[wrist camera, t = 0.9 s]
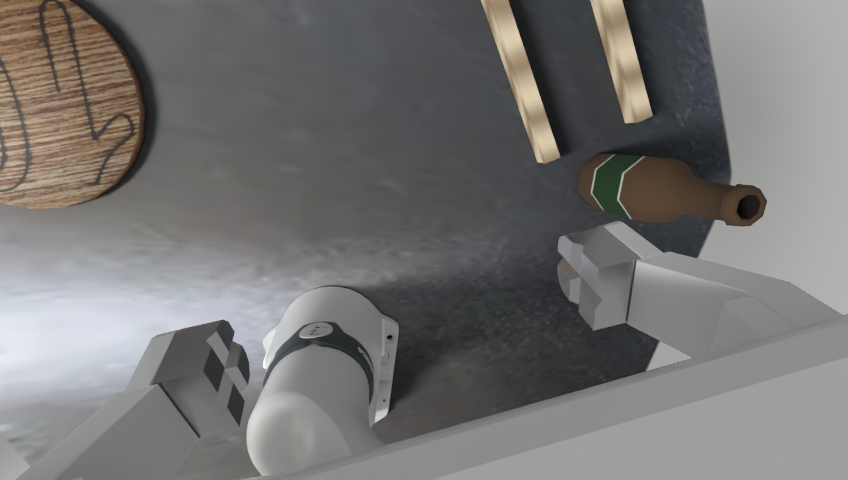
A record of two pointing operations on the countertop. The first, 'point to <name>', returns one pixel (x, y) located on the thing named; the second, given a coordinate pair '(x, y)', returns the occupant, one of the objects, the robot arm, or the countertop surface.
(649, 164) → the beer bottle
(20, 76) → the trivet
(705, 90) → the countertop surface
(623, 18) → the u rest
